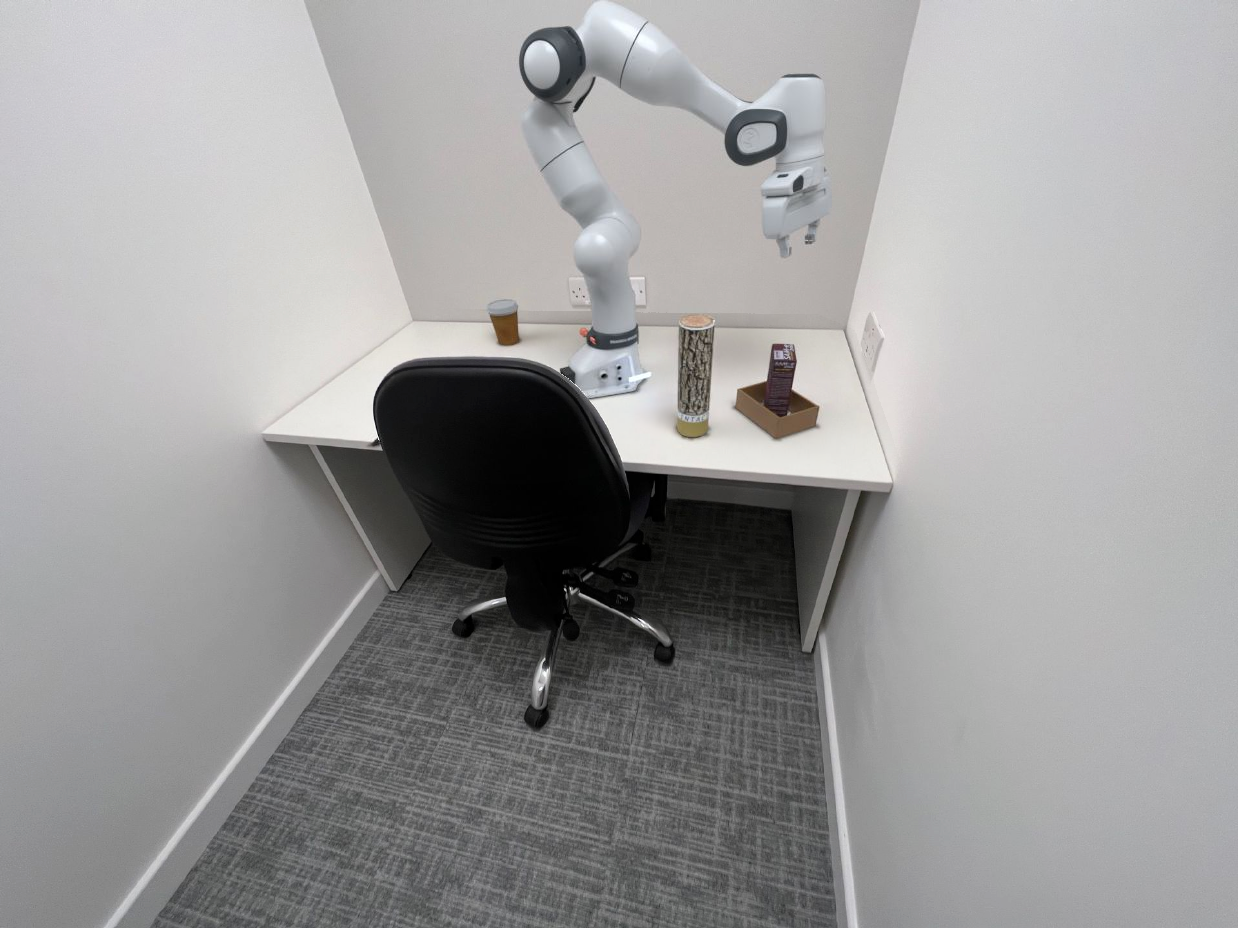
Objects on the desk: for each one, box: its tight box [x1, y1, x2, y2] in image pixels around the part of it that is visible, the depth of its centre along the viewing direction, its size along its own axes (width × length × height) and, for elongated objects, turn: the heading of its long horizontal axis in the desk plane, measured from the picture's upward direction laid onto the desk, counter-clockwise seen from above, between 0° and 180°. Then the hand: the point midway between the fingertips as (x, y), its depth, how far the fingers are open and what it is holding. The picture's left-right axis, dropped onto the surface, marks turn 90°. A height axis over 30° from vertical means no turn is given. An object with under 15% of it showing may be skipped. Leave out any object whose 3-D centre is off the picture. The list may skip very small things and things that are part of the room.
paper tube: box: [676, 314, 716, 438], centre depth 102 cm, size 7×7×25 cm
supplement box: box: [762, 343, 798, 417], centre depth 108 cm, size 9×5×16 cm, turn 168°
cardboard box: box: [735, 380, 820, 440], centre depth 111 cm, size 10×15×5 cm
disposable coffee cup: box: [486, 298, 520, 346], centre depth 153 cm, size 10×10×12 cm
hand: (798, 250), depth 104 cm, fingers open, 8 cm apart
